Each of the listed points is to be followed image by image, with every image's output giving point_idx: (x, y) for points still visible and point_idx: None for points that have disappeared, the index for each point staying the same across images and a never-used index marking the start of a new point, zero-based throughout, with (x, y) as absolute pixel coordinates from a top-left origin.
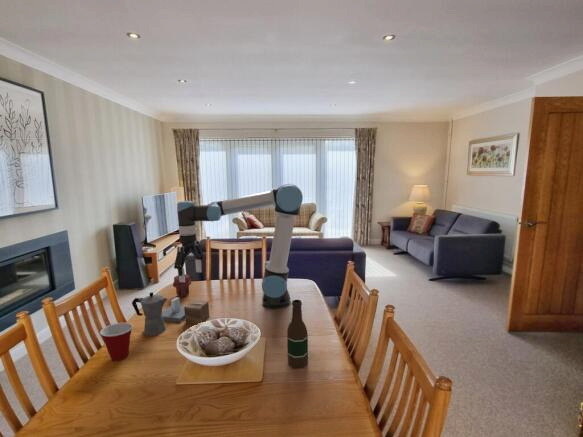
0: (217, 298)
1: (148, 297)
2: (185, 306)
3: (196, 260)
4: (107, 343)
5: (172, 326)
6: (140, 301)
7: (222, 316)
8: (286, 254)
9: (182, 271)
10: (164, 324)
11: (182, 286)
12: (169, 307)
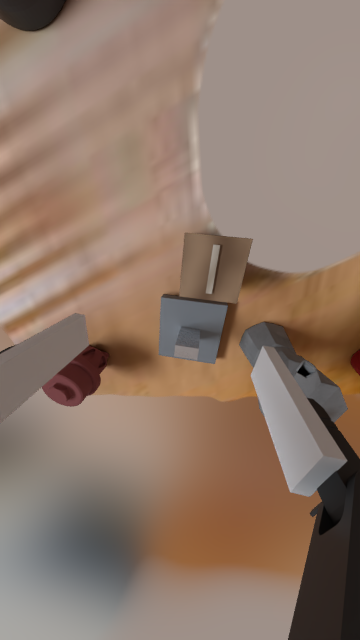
0: (82, 261)
1: None
2: (232, 301)
3: (1, 408)
4: None
5: (246, 312)
6: None
7: (185, 186)
8: None
9: (316, 429)
10: (254, 331)
11: (93, 368)
12: (172, 355)
